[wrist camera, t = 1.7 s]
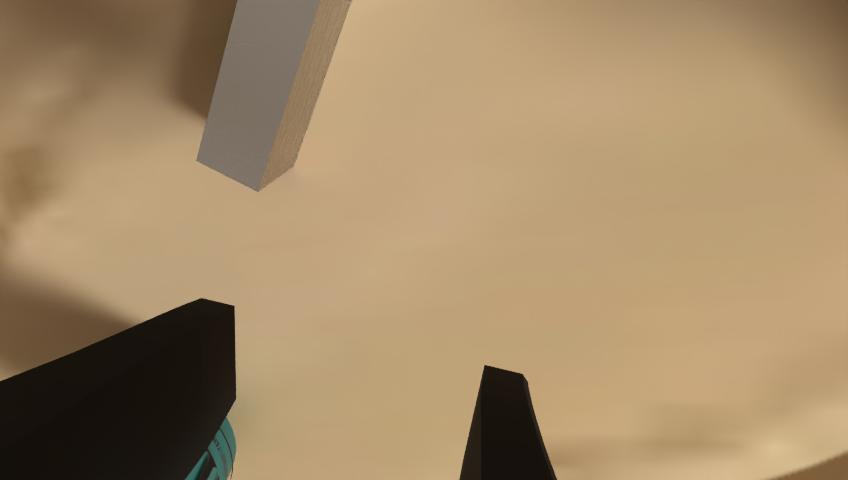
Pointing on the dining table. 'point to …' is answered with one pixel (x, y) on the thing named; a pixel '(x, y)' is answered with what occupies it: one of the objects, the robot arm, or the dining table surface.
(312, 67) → the tong arm
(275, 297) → the dining table surface
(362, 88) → the dining table surface
